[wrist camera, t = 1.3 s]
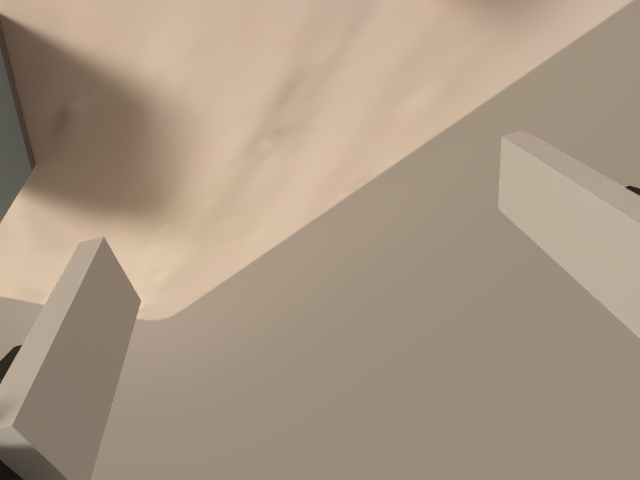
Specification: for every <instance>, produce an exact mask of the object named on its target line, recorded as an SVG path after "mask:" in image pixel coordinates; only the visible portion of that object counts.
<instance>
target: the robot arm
mask: <svg viewBox="0 0 640 480" xmlns="http://www.w3.org/2000/svg"><path fill="white" fill-rule="evenodd" d="M498 209H499V210H500V211H501V212H502V213H504V214H505V215H506V216H507V217H508V218H509V219H510V220H511V221H512V222H513V223H514V224H516V225H517V226H518V227H519V228H520V229H521V230H522V231H523V232H524V233H525V234H526V235H528V236H529V237H530V238H531V239H532V240H533V241H534V242H535V243H536V244H537V245H538V246H540V247H541V248H542V249H543V250H544V251H545V252H546V253H547V254H548V255H549V256H550V257H552V258H553V259H554V260H555V261H556V262H557V263H558V264H559V265H560V266H561V267H562V268H564V269H565V270H566V271H567V272H568V273H569V274H570V275H571V276H572V277H573V278H575V279H576V280H577V281H578V282H579V283H580V284H581V285H582V286H583V287H584V288H585V289H586V290H588V291H589V292H590V293H591V294H592V295H593V296H594V297H595V298H596V299H597V300H598V301H600V302H601V303H602V304H603V305H604V306H605V307H606V308H607V309H608V310H609V311H611V312H612V313H613V314H614V315H615V316H616V317H617V318H618V319H619V320H620V321H622V323H624V324H625V325H626V326H627V327H628V328H629V329H630V330H631V331H632V332H634V333H635V334H636V335H637V336H638V337H639V338H640V189H639V188H635V187H632V186H628V187H623V186H621V185H619V184H618V183H616V182H614V181H613V180H611V179H609V178H607V177H605V176H604V175H602V174H600V173H598V172H597V171H595V170H593V169H591V168H590V167H588V166H586V165H584V164H582V163H581V162H579V161H577V160H575V159H573V158H572V157H570V156H568V155H567V154H565V153H563V152H561V151H559V150H557V149H556V148H554V147H552V146H550V145H549V144H547V143H545V142H543V141H542V140H540V139H538V138H536V137H535V136H533V135H531V134H529V133H527V132H526V131H521V132H517V133H513V134H510V135H505V136H502V143H501V163H500V182H499V199H498ZM140 302H141V300H140V298H139V296H138V295H137V293H136V291H135V290H134V288H133V286H132V284H131V283H130V281H129V279H128V278H127V276H126V274H125V272H124V271H123V269H122V267H121V265H120V264H119V262H118V260H117V259H116V257H115V255H114V253H113V252H112V250H111V248H110V247H109V245H108V243H107V241H106V240H105V238H104V237H101V238H97V239H93V240H89V241H85V242H81V243H79V245H78V247H77V249H76V250H75V252H74V254H73V256H72V258H71V259H70V261H69V263H68V265H67V266H66V268H65V270H64V272H63V274H62V275H61V277H60V279H59V281H58V282H57V284H56V286H55V288H54V290H53V291H52V293H51V295H50V297H49V298H48V300H47V302H46V304H45V306H44V307H43V309H42V311H41V313H40V314H39V316H38V318H37V320H36V322H35V323H34V325H33V327H32V329H31V330H30V332H29V334H28V336H27V338H26V339H25V341H24V343H23V345H20V346H16V347H14V348H13V349H12V350H11V351H10V352H9V353H8V354H7V355H6V356H5V357H4V358H3V359H2V360H1V361H0V480H91V476H92V473H93V469H94V466H95V462H96V459H97V455H98V451H99V448H100V444H101V441H102V437H103V434H104V430H105V427H106V423H107V420H108V416H109V412H110V409H111V405H112V402H113V398H114V395H115V391H116V388H117V384H118V380H119V377H120V373H121V370H122V366H123V363H124V359H125V356H126V352H127V348H128V345H129V341H130V338H131V334H132V331H133V327H134V323H135V320H136V316H137V313H138V309H139V306H140Z"/></svg>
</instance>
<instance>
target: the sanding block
mask: <svg viewBox="0 0 640 480" xmlns="http://www.w3.org/2000/svg"><path fill="white" fill-rule="evenodd" d="M34 167H35V161H34V157H33V153H32V149H31V145H30V141H29V137H28V133H27V129H26V125H25V121H24V117H23V112H22V108H21V104H20V100H19V96H18V92H17V88H16V84H15V80H14V76H13V72H12V68H11V63H10V59H9V55H8V51H7V47H6V43H5V39H4V35H3V31H2V27H1V23H0V223H1V221H2V219H3V218H4V216H5V214H6V213H7V211H8V209H9V208H10V206H11V204H12V203H13V201H14V200H15V198H16V196H17V195H18V193H19V191H20V190H21V188H22V186H23V185H24V183H25V181H26V180H27V178H28V177H29V175H30V173H31V172H32V170H33V168H34Z"/></svg>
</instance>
